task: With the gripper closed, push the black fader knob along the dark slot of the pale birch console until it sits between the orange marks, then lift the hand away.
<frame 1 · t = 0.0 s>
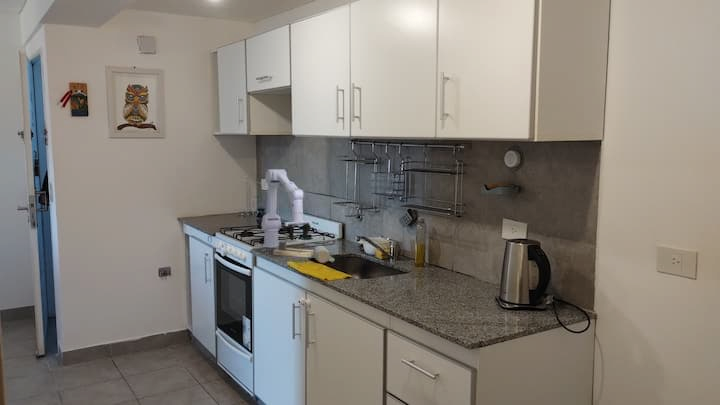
hand: (298, 239, 299), 11 cm above the worktop, tool pointing down, fingers open, 7 cm apart
fader knob: (282, 245, 311), point 4 cm above the worktop, slide at 0.0 cm
fader console: (293, 254, 311), on the worktop
ceramic mug: (323, 262, 300), on the worktop
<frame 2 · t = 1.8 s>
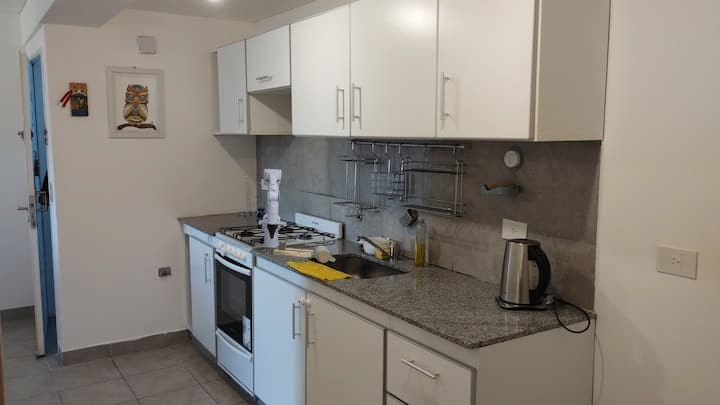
hand: (271, 238, 311), 8 cm above the worktop, tool pointing down, fingers closed
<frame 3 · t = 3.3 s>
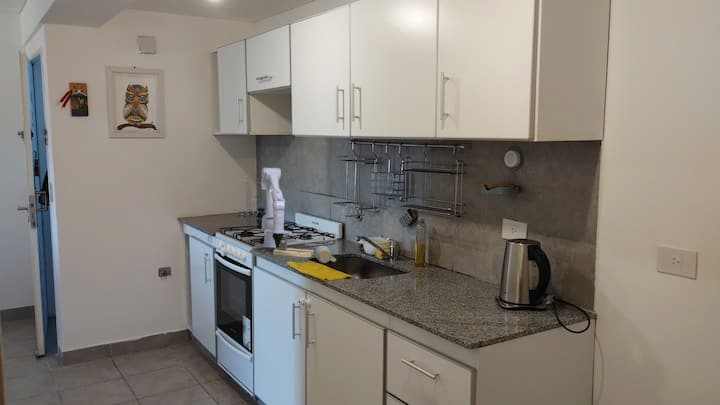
hand: (277, 247, 311), 3 cm above the worktop, tool pointing down, fingers closed
fader knob: (283, 245, 311), point 4 cm above the worktop, slide at 0.4 cm, touching gripper
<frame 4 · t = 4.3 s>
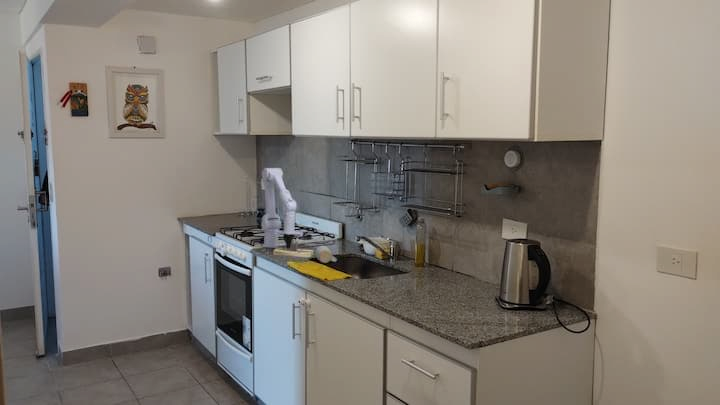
hand: (288, 248, 311), 3 cm above the worktop, tool pointing down, fingers closed
fader knob: (294, 246, 310), point 4 cm above the worktop, slide at 6.2 cm, touching gripper
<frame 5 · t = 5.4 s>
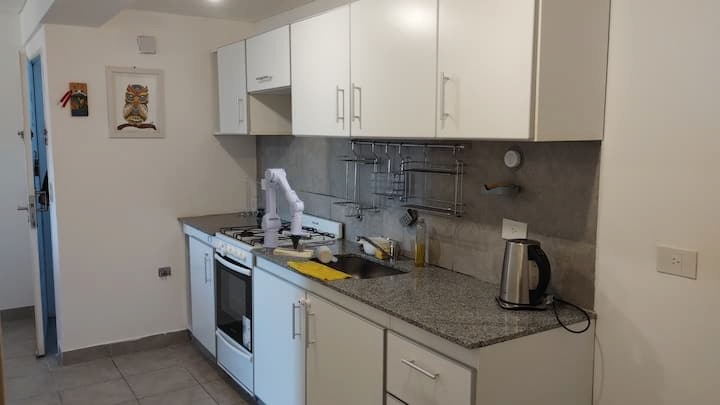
hand: (295, 249, 310), 3 cm above the worktop, tool pointing down, fingers closed
fader knob: (301, 246, 310), point 4 cm above the worktop, slide at 10.1 cm, touching gripper
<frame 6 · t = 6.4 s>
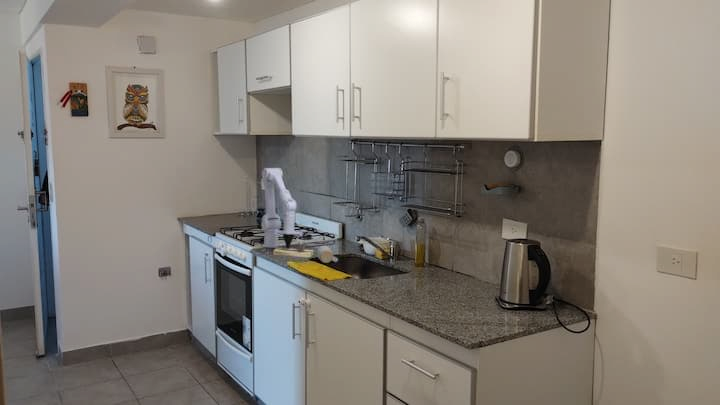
hand: (288, 248, 311), 3 cm above the worktop, tool pointing down, fingers closed
fader knob: (301, 246, 310), point 4 cm above the worktop, slide at 10.1 cm
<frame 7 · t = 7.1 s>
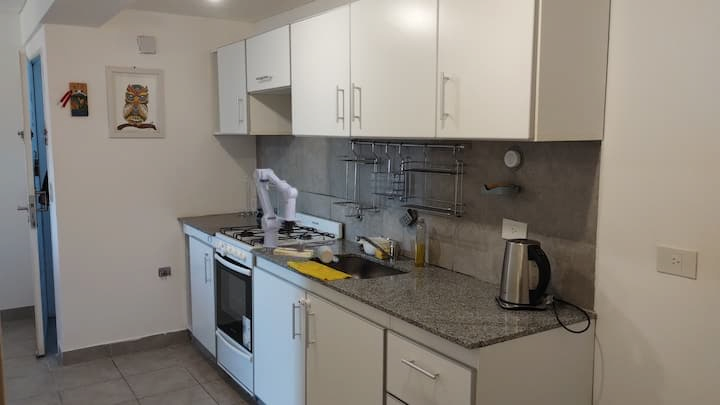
hand: (288, 234, 315), 9 cm above the worktop, tool pointing down, fingers closed
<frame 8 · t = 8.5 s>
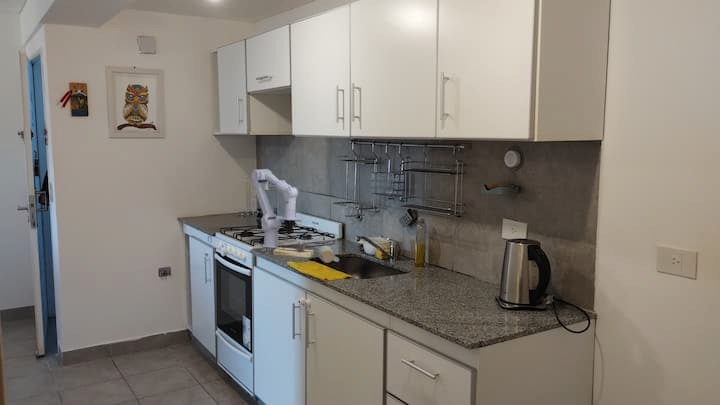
hand: (289, 234, 316), 9 cm above the worktop, tool pointing down, fingers closed
at the end: fader knob slide at 10.1 cm; ceramic mug moved 2.7 cm from its start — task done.
